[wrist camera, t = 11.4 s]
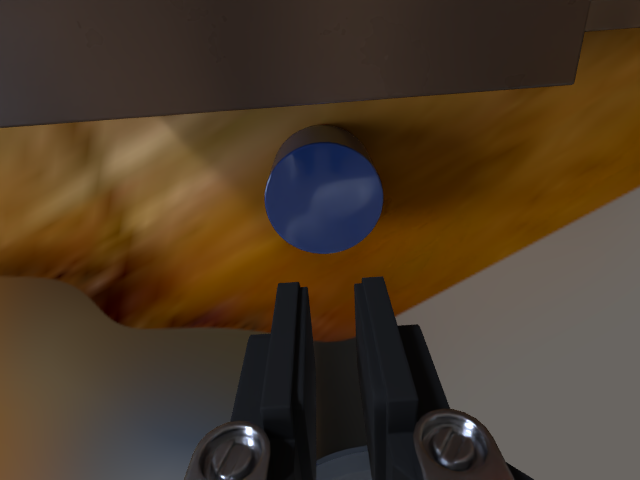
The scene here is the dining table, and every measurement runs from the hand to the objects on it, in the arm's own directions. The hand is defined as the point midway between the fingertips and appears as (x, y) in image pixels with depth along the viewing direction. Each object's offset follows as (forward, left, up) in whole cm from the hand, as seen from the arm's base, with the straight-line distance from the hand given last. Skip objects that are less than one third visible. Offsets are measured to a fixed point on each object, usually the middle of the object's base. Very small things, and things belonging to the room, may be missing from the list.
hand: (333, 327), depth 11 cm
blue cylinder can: (0, 0, -13) cm, 13 cm away
